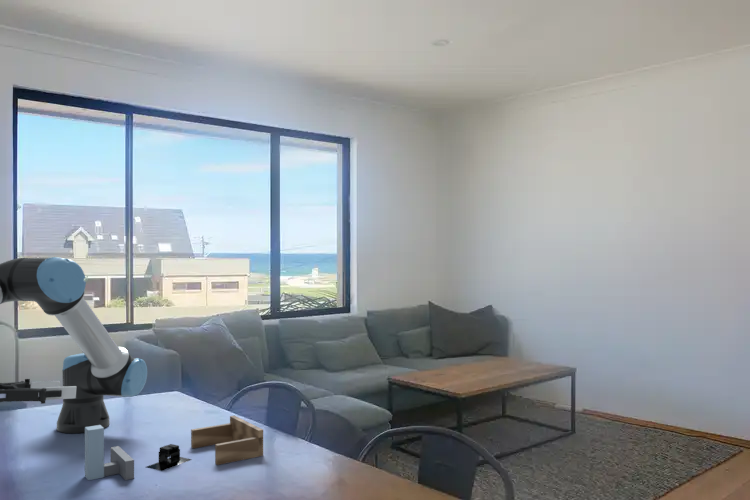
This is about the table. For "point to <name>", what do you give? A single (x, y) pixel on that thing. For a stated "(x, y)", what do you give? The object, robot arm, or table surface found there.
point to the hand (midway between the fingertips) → (67, 389)
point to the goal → (230, 440)
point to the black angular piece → (166, 462)
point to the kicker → (95, 457)
